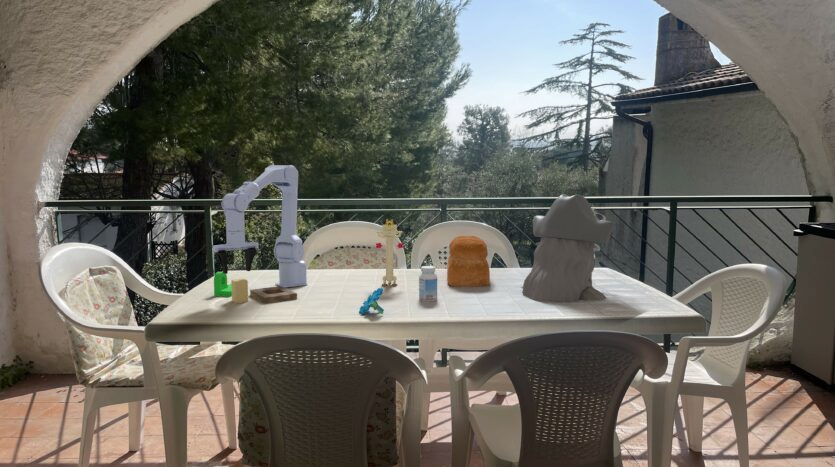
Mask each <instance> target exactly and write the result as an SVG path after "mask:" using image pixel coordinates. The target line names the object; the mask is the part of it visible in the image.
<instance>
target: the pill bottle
mask: <svg viewBox="0 0 835 467" xmlns="http://www.w3.org/2000/svg"><path fill="white" fill-rule="evenodd" d="M420 271H421V273H420V274H419V275H418V288H419V289H418V299H419V301H423V302H434V301H437V300H438V275H437V273H435V272H436V267H435V266H434V265H423V266H421V268H420Z"/></svg>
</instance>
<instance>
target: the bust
mask: <svg viewBox="0 0 835 467" xmlns="http://www.w3.org/2000/svg"><path fill="white" fill-rule="evenodd" d="M595 209H596V207H595V208H592V207H591V204H590V203H589V200H587V198H586V197H585V196H583V195H581V194H577V193H576V194H574V195H571V196H569V195H567V194H566V193H562V194H561V195H559V196H558V197H557V198H556V199H555V200H554V201H553V203H552V204H551V206H550V207H549V210H548V211H547V212H546V214H545V215H535V216H534V217H533V220H532V231H533V237H536V238H537V237H539V238H541V239H540V241H539V243H538V245H537V247H535V249H534V252H533V265H532V268H531V269H530V270H531V271H530V272H529V273H528V275H527V276H526V278H525V279H524V281H523V285H522V286H521V287H520V288H521V289H522V292H521V294H522V296H523V297H526V298H529V300H532V301H537V302H542V303H543V302H544V303H547V302H548V303H576V302H577V303H578V302H579V300H583V301H592V302H593V301H594V302H595V301H597V302H598V301H599V302H600V301H603V300H604V301H605V300H607V299H608V298H607V297H606V295H605V294H603V293H602V292H601V291H599V290H598V289H596V288H595V287H594V286H593V279H592V276H593V272H594V270H595V265H596V264H595V262H596V260H595V257H594V253H595V252H594V251H596V252H599V251H600V250H601V247H600V245H598V244H608V243H609V241H610V238H611V233H612V231H613V229H614V223H613V221H610V220H607V218H606V216H605V215H604V214H601V213H599V212H595ZM595 214H598V215H601V216H602V219H599V218H598V217H597V215H595Z"/></svg>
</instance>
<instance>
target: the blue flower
mask: <svg viewBox="0 0 835 467" xmlns="http://www.w3.org/2000/svg"><path fill="white" fill-rule="evenodd" d="M382 287H383V286H382ZM382 287H378V288H377V289H376V290H373V292H372V294H369V295H368V296H367V300H364V301H363V303H362V304H363V305H361V306H360V307H359V311H358V313H359V314H363V315H364V314H365V313H366V312H369V311H370V308H371V309H373V310H374V311H377V312H378V313H380V314H381V315H383V314H384V311H385V309H383V308H382V307H381V306H380V305H379V304H378V302H377V301H379V300H380V298H381V297H380V296H382V295H383V293H384V288H382Z"/></svg>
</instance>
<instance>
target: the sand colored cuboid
mask: <svg viewBox="0 0 835 467" xmlns="http://www.w3.org/2000/svg"><path fill="white" fill-rule="evenodd" d="M230 281H231V283H230V284H232V296H231V301H232V302H234V303H235V304H238V303H240V304H241V303H245V302H249V289H248V288H249V283H248V282H249V281H248V280H247V279H245V278H236V279H235V278H234V279H230Z"/></svg>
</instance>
